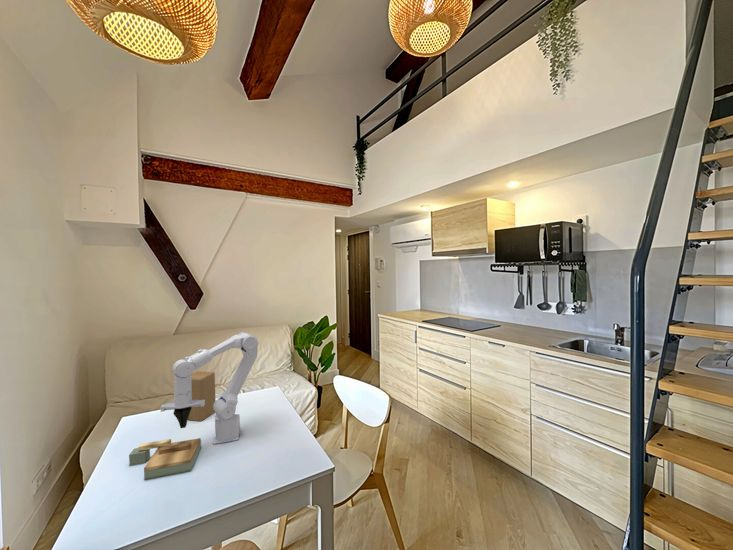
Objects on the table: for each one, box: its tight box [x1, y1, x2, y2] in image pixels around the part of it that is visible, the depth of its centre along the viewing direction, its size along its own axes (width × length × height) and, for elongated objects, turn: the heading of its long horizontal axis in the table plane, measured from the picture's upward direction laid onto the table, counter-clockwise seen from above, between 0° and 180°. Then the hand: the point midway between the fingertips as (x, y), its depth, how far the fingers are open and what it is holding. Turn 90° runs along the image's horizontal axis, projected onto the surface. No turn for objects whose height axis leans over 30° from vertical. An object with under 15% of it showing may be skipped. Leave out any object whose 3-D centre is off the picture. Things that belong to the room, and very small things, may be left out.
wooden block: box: [187, 370, 217, 422], centre depth 144 cm, size 10×10×20 cm
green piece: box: [143, 440, 202, 481], centre depth 109 cm, size 14×14×3 cm
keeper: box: [128, 447, 151, 467], centre depth 110 cm, size 5×4×4 cm
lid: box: [143, 437, 202, 472], centre depth 109 cm, size 14×14×2 cm
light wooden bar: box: [137, 438, 172, 451], centre depth 111 cm, size 10×2×2 cm, turn 107°
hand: (183, 426), depth 114 cm, fingers closed
